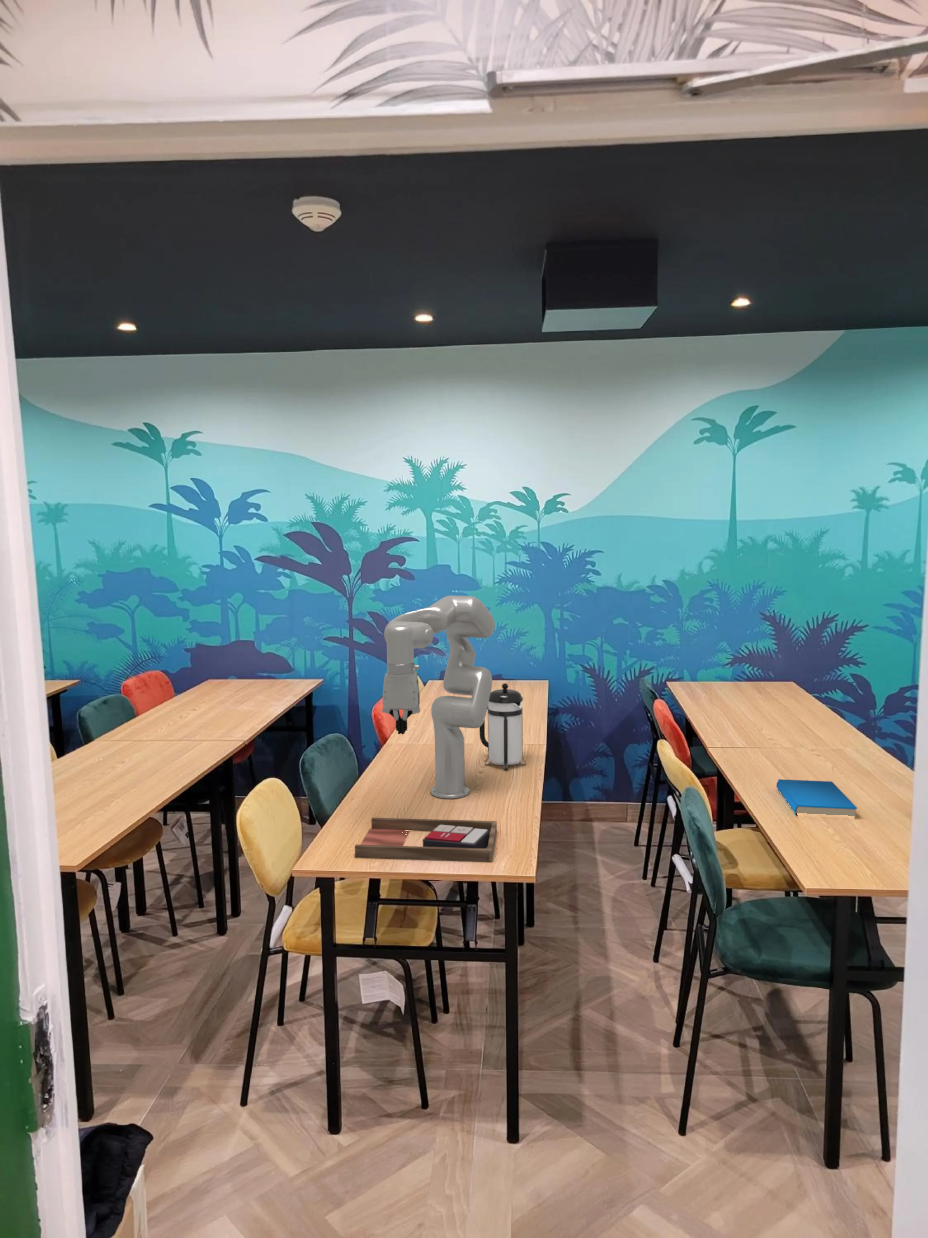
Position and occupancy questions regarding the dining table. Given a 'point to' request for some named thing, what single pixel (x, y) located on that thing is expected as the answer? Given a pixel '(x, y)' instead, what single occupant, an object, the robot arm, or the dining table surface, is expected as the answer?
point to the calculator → (457, 837)
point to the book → (815, 797)
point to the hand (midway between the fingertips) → (401, 733)
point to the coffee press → (504, 727)
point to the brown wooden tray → (390, 840)
